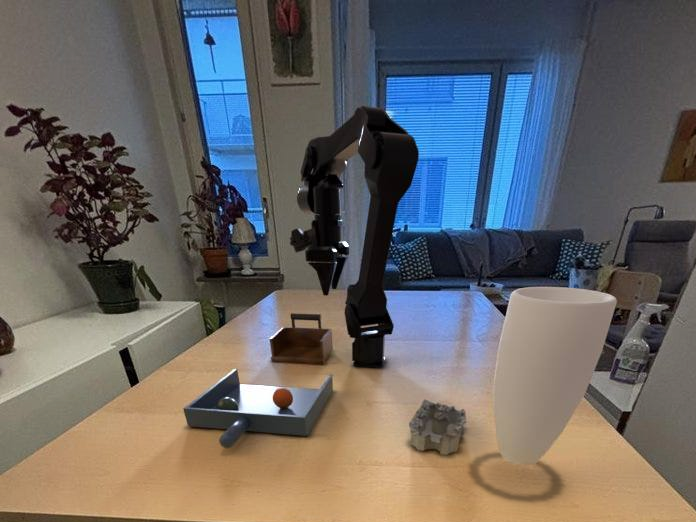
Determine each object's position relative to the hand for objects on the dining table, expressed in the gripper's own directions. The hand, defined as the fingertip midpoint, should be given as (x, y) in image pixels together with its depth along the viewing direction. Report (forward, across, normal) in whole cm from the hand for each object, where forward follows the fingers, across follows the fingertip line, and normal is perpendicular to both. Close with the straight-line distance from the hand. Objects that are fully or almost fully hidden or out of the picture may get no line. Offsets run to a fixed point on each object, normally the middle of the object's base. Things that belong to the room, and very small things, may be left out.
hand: (330, 292), depth 96 cm
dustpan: (+12, +46, -2) cm, 47 cm away
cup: (+12, +57, +37) cm, 69 cm away
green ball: (+10, +48, -6) cm, 49 cm away
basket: (+12, +13, -4) cm, 18 cm away
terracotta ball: (+10, +42, +1) cm, 43 cm away
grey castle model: (+12, +48, +27) cm, 56 cm away
